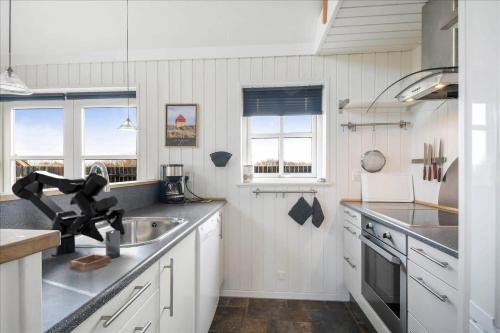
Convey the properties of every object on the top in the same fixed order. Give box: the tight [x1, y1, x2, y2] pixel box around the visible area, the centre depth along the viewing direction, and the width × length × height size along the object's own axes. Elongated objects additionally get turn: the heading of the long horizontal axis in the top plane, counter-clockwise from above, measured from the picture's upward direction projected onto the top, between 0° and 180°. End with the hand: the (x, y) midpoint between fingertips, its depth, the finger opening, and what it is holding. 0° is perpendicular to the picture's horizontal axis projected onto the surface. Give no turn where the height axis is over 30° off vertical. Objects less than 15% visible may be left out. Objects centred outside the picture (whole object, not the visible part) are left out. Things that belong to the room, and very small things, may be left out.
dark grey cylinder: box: [105, 229, 121, 260], centre depth 91 cm, size 4×4×9 cm
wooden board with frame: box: [69, 253, 126, 272], centre depth 86 cm, size 12×16×3 cm
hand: (113, 237), depth 91 cm, fingers open, 9 cm apart
